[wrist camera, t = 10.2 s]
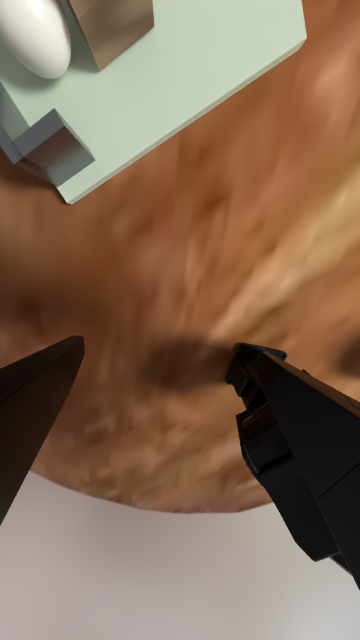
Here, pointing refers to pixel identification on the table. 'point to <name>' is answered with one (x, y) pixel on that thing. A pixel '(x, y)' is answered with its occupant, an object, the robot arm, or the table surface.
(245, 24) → the pitch
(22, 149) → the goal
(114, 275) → the table surface
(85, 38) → the block
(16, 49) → the ball
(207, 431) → the table surface
